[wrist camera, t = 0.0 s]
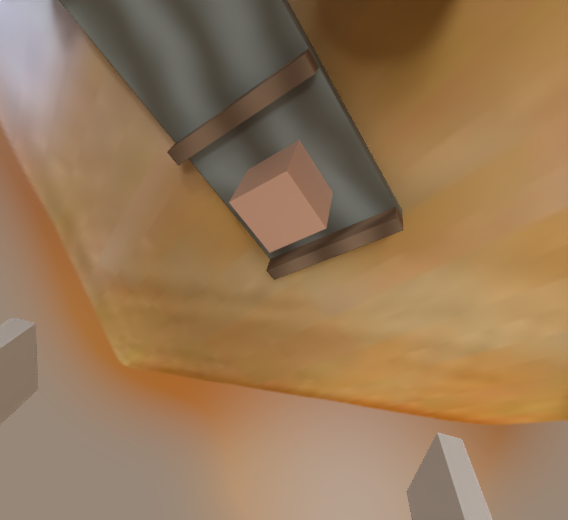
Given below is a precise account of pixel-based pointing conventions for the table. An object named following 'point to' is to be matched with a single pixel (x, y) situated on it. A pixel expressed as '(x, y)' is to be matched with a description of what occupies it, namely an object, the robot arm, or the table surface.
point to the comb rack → (245, 105)
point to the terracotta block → (283, 198)
